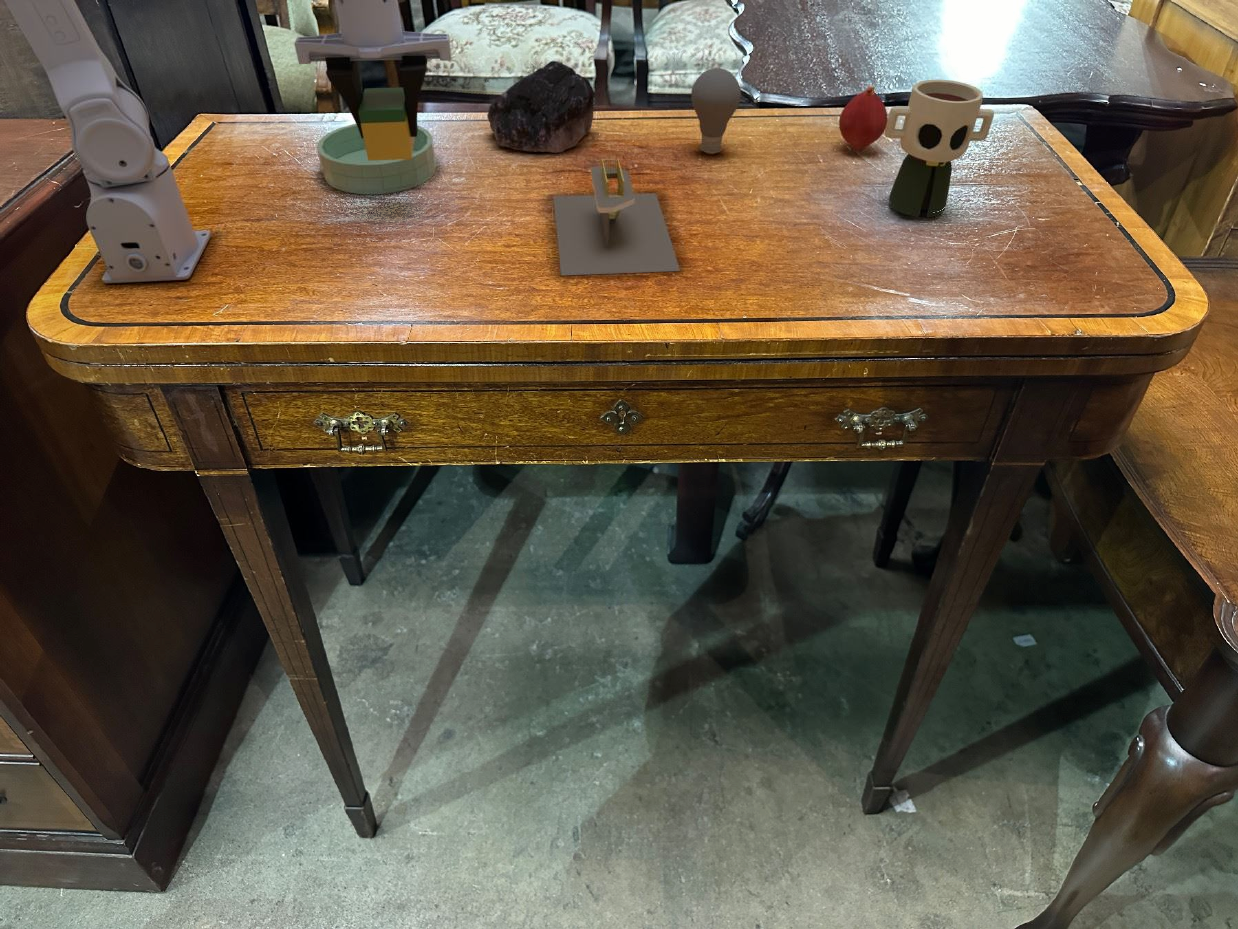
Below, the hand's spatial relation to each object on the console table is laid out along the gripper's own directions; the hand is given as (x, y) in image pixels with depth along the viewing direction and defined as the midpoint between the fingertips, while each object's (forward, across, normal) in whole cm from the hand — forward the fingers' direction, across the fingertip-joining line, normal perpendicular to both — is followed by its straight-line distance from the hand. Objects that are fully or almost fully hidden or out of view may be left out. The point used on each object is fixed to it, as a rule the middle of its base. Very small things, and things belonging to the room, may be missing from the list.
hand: (389, 134), depth 85 cm
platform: (+9, +23, -7) cm, 25 cm away
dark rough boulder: (+9, +17, +20) cm, 27 cm away
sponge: (+1, 0, 0) cm, 1 cm away
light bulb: (+9, +38, +13) cm, 41 cm away
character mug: (+9, +58, -5) cm, 58 cm away
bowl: (+8, -3, +11) cm, 14 cm away
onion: (+9, +57, +12) cm, 59 cm away
